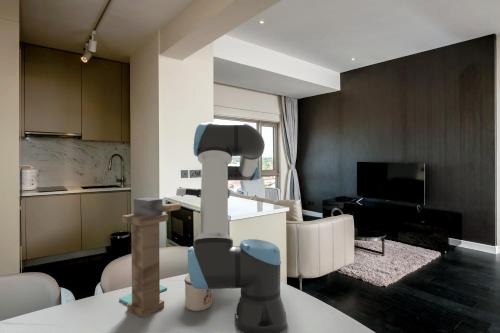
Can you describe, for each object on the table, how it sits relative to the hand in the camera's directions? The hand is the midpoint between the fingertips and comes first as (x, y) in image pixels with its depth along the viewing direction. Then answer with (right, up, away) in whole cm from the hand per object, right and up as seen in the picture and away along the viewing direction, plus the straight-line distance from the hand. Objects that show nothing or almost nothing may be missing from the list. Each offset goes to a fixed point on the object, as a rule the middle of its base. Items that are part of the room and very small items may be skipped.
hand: (194, 195), depth 110 cm
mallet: (-9, -5, -11) cm, 15 cm away
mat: (-17, -35, -5) cm, 39 cm away
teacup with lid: (+4, -35, -11) cm, 37 cm away
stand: (-13, -35, -15) cm, 40 cm away
